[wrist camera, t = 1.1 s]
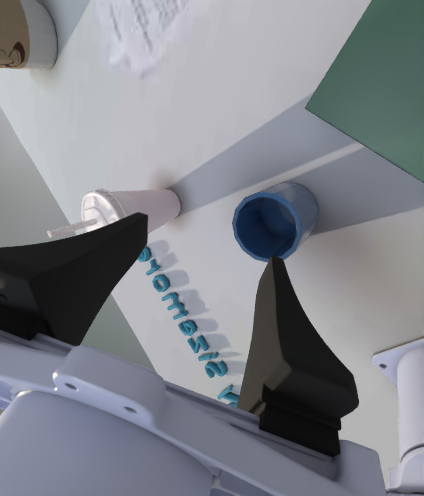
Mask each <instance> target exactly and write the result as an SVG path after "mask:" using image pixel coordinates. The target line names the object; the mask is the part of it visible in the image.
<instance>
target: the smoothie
mask: <svg viewBox="0 0 424 496" xmlns="http://www.w3.org/2000/svg"><path fill="white" fill-rule="evenodd" d="M180 209H181V205H180V201H179V198H178V196H177V195H176V194H175V193H174V192H173V191H171V190H169V189H164V190H143V191H118V192H109V191H106V190H103V189H99V190H96V191H90V192H88V193H86V195H85V196H84V198H83V200H82V204H81V215H82V220H83V222H80V223H76V224H72V225H68V226H65V227H61V228H58V229H54V230H50V231H47V233H48V236H49V237H54V236H57V235H60V234H64V233H67V232H71V231H74V230H78V229H81V228H85V229H86V232H90V231H93V230H95V229H98V228H101V227H103V226H106V225H108V224H111V223H113V222H116V221H118V220H120V219H123V218H125V217H127V216H129V215H132V214H134V213H137V212H140V213H143V214H146V215H148V233H150V232H152V231H153V230H155V229H157V228H159V227H160V226H162V225H164V224H165V223H167V222H169V221H171V220H172V219H174V218H176V217H177V216H178V215H179V213H180Z"/></svg>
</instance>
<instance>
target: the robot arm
mask: <svg viewBox="0 0 424 496" xmlns="http://www.w3.org/2000/svg"><path fill="white" fill-rule="evenodd" d="M147 238H148V215H146V214H143V213H140V212H137V213H134V214H132V215H129V216H127V217H125V218H123V219H120V220H118V221H116V222H113V223H111V224H108V225H106V226H103V227H101V228H98V229H95V230H93V231H90V232H87V233H84V234H80V235H77V236H74V237H69V238H65V239H60V240H56V241H51V242H46V243H39V244H32V245H25V246H15V247H2V248H0V408H1V409H3V410H5V411H4V412H3V413H2V415H1V416H0V496H424V338H422V339H419V340H416V341H413V342H410V343H407V344H405V345H402V346H399V347H396V348H393V349H390V350H387V351H384V352H381V353H378V354H376V355H374V356H373V357H372V361H373V363H374V364H375V365H376V366H377V367H378V368H379V369H380V370H381V371H382V372H383V373H384V374H385V375H386V376H387V377H388V379H389V380H390V381H391V382H392V383H393V384H394V385H395V386H396V387H397V388H398V418H399V448H400V465H399V466H398V467H396V468H393V469H388V490H386V489H385V484H384V479H383V475H382V470H381V465H380V460H379V455H378V453H377V452H376V451H375V450H372V449H370V448H367V447H364V446H362V445H359V444H356V443H354V442H351V441H348V440H339V437H338V430H341V420H340V418H342V417H344V416H345V415H347V414H349V413H350V412H352V411H353V410H355V409H356V408H357V407H358V404H359V399H358V393H357V388H356V384H355V380H354V377H353V374H352V373H351V372H350V371H349V370H348V369H347V368H346V367H345V366H344V364H343V363H342V362H341V361H340V360H339V359H338V358H337V357H336V356H335V354H334V353H333V352H332V351H331V350H330V348H329V347H328V346H327V345H326V343H325V342H324V341H323V339H322V338H321V337H320V335H319V334H318V332H317V331H316V330H315V328H314V327H313V325H312V324H311V322H310V321H309V319H308V317H307V315H306V314H305V312H304V310H303V308H302V306H301V304H300V302H299V300H298V298H297V296H296V294H295V291H294V289H293V286H292V284H291V281H290V279H289V276H288V273H287V270H286V267H285V264H284V261H283V259H282V258H279V257H276V256H273V255H272V256H271V258H270V260H269V262H268V264H267V266H266V268H265V270H264V272H263V274H262V277H261V279H260V281H259V285H258V290H257V294H256V302H255V312H254V323H253V333H252V340H251V345H250V350H249V355H248V360H247V364H246V369H245V373H244V378H243V382H242V387H241V391H240V395H239V399H238V403H237V407H233V406H230V405H228V404H225V403H222V402H220V401H217V400H215V399H212V398H209V397H207V396H204V395H201V394H199V393H196V392H194V391H191V390H188V389H186V388H183V387H180V386H178V385H175V384H172V383H170V382H167V381H165V380H163V378H162V377H161V376H160V375H158V374H157V373H156V372H155V371H153V370H151V369H149V368H147V367H145V366H142V365H139V364H137V363H134V362H131V361H129V360H126V359H124V358H121V357H118V356H116V355H113V354H110V353H108V352H105V351H102V350H99V349H97V348H94V347H91V346H87V345H80V344H81V342H82V340H83V338H84V336H85V335H86V333H87V331H88V329H89V327H90V326H91V324H92V322H93V320H94V319H95V317H96V315H97V314H98V312H99V310H100V309H101V307H102V305H103V304H104V302H105V301H106V299H107V298H108V296H109V295H110V293H111V291H112V290H113V289H114V287H115V286H116V285H117V283H118V282H119V281H120V280H121V278H122V277H123V276H124V275H125V273H126V272H127V271H128V270H129V269H130V267H131V266H132V265H133V264H134V262H135V261H136V260H137V259H138V257H139V256H140V254H141V253H142V251H143V249H144V248H145V246H146V244H147ZM381 364H385V366H383V365H381Z"/></svg>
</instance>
